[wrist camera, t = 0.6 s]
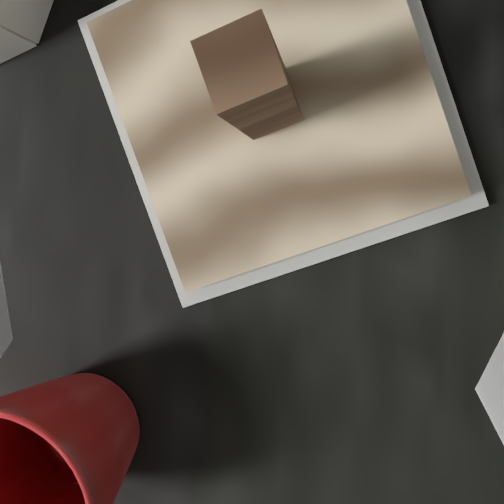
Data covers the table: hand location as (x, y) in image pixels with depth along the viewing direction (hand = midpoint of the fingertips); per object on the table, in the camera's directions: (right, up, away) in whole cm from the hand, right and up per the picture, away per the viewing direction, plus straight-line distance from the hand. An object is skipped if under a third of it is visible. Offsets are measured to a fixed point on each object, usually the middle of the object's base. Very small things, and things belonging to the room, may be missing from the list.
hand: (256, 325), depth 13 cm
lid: (+1, +11, +17) cm, 20 cm away
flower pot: (-12, -11, +23) cm, 28 cm away
